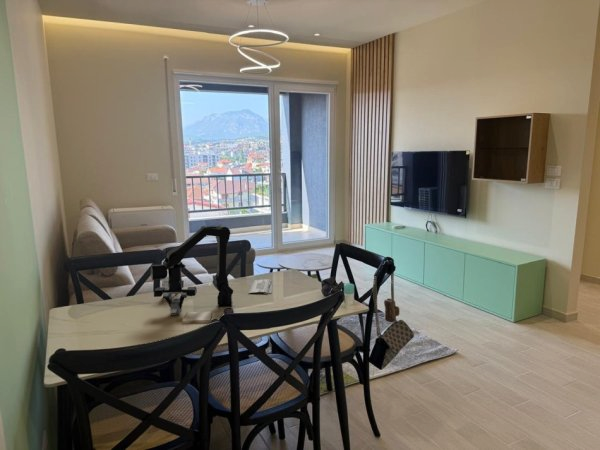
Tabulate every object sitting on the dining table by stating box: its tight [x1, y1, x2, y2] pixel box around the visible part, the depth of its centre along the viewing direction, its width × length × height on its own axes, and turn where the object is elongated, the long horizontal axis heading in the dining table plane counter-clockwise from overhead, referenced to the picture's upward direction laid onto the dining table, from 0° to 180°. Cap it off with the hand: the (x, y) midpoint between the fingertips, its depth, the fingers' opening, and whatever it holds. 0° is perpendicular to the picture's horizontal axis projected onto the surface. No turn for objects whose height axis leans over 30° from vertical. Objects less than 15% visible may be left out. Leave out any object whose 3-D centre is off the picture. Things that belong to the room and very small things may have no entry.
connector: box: [170, 297, 183, 316], centre depth 195 cm, size 4×12×5 cm, turn 5°
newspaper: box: [248, 278, 273, 295], centre depth 234 cm, size 23×12×2 cm, turn 179°
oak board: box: [181, 311, 213, 324], centre depth 189 cm, size 12×10×1 cm
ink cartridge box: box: [161, 275, 177, 298], centre depth 219 cm, size 9×5×15 cm, turn 168°
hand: (176, 309), depth 196 cm, fingers closed on connector, 4 cm apart
